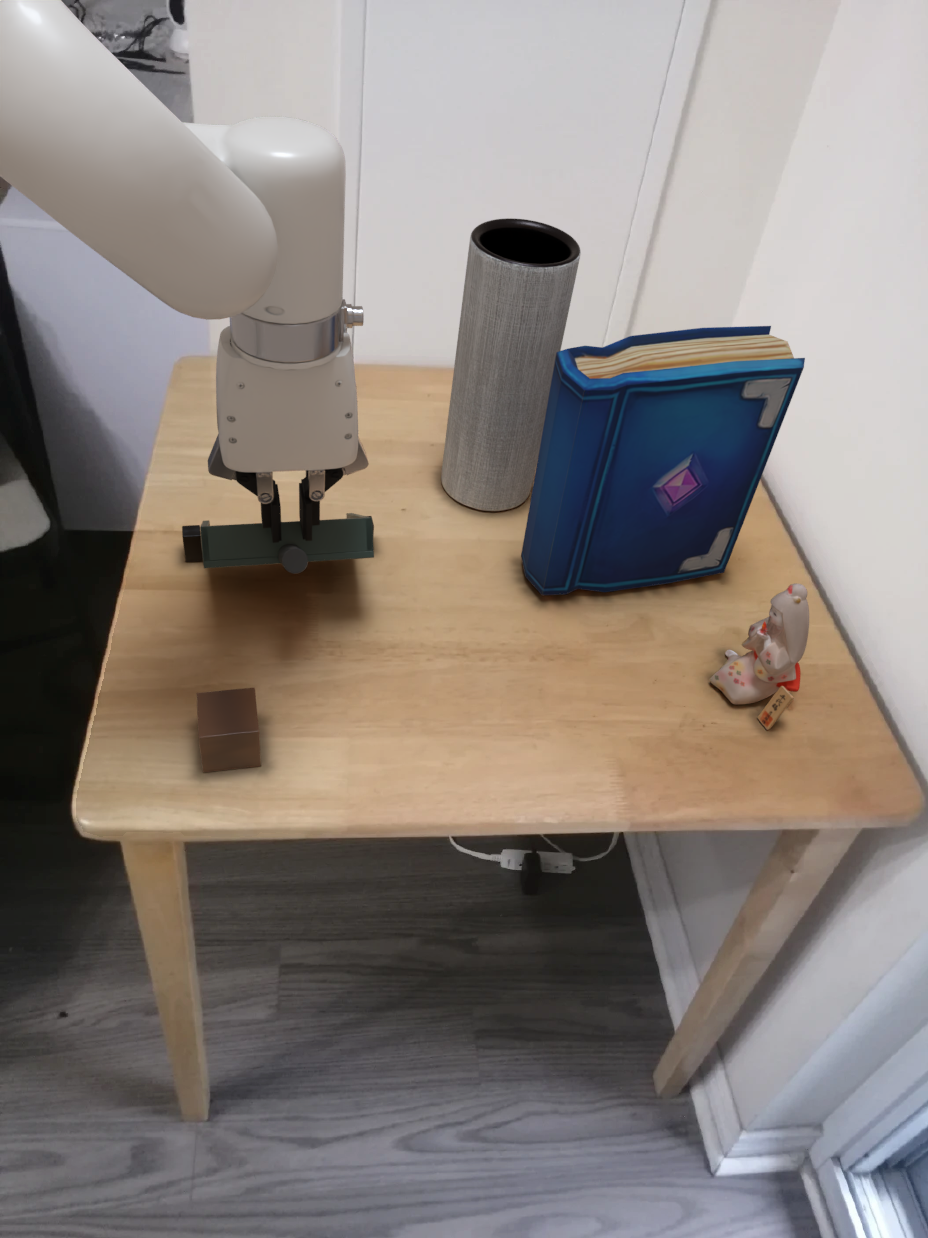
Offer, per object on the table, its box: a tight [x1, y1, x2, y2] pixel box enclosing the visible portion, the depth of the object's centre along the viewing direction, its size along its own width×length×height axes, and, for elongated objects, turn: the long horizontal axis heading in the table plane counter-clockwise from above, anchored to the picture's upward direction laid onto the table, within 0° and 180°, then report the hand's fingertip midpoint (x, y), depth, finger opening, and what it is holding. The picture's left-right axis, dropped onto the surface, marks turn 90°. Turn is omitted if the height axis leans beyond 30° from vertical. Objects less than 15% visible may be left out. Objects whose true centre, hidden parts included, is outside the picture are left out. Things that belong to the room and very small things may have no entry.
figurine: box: [709, 582, 810, 731], centre depth 82 cm, size 9×7×12 cm
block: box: [196, 687, 262, 773], centre depth 73 cm, size 4×4×4 cm
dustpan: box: [200, 512, 375, 575], centre depth 81 cm, size 17×14×4 cm
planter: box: [440, 218, 582, 512], centre depth 93 cm, size 10×10×27 cm
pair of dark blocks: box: [181, 515, 375, 563], centre depth 90 cm, size 2×18×3 cm, turn 103°
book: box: [520, 325, 806, 596], centre depth 86 cm, size 22×7×25 cm, turn 108°
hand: (290, 529), depth 77 cm, fingers closed on dustpan, 2 cm apart
